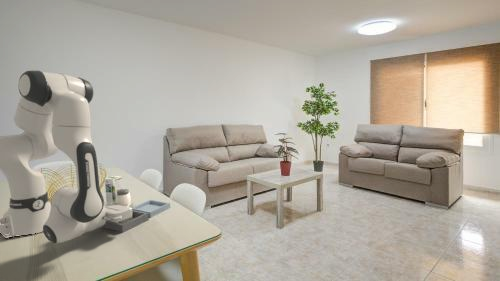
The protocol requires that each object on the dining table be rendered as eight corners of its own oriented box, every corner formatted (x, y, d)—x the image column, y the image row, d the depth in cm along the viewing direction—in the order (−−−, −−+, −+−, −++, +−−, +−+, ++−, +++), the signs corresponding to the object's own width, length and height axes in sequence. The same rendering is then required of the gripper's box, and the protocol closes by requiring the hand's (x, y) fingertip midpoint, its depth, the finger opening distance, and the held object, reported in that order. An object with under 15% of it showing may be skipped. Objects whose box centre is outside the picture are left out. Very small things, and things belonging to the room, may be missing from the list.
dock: (101, 226, 111) (100, 219, 111) (127, 215, 123) (127, 208, 123) (123, 232, 106) (122, 225, 105) (148, 219, 117) (148, 213, 117)
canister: (115, 224, 113) (112, 191, 111) (126, 219, 118) (123, 188, 116) (124, 227, 111) (121, 193, 109) (135, 221, 116) (133, 189, 114)
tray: (130, 213, 125) (130, 208, 125) (151, 204, 137) (150, 199, 136) (150, 217, 120) (150, 212, 120) (170, 207, 131) (170, 203, 131)
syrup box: (106, 206, 134) (103, 178, 133) (116, 202, 140) (113, 175, 138) (114, 208, 132) (112, 179, 130) (124, 203, 138) (122, 176, 136)
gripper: (112, 212, 97) (143, 200, 109) (77, 204, 106) (109, 194, 118) (114, 229, 98) (144, 215, 110) (78, 220, 107) (110, 208, 119)
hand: (125, 204), depth 114 cm, fingers closed on canister, 6 cm apart
